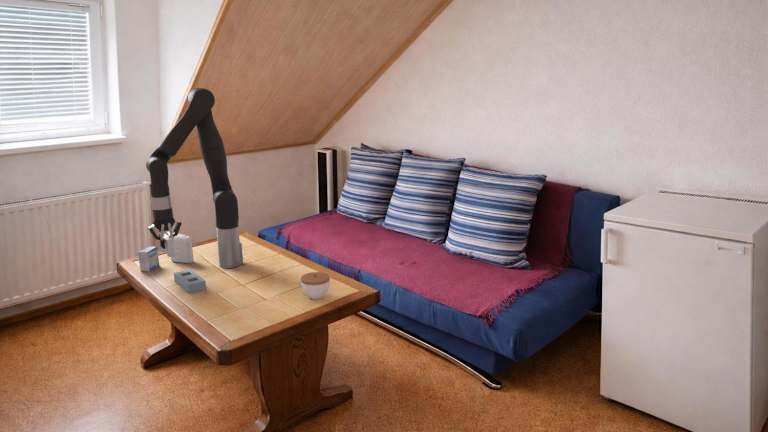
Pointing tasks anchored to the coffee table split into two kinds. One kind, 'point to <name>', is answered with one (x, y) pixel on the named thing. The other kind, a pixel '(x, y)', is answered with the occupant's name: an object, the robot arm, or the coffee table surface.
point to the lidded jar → (315, 284)
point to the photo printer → (183, 249)
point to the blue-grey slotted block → (190, 281)
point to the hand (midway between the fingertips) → (167, 247)
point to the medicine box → (148, 258)
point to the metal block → (168, 246)
